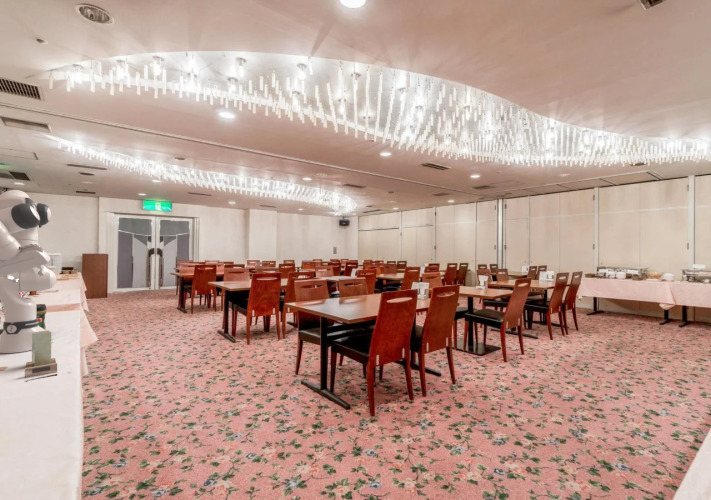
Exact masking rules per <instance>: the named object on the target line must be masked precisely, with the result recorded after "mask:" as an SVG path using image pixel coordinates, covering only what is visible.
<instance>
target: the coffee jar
mask: <svg viewBox="0 0 711 500" xmlns="http://www.w3.org/2000/svg"><path fill="white" fill-rule="evenodd" d="M36 305H37V306H36V318H42V322H39V326H40V327H41V328H43V329H44V330H46V331H47V327H46V313H47V312H48V311H47V305H46V304H45V303H37V304H36Z"/></svg>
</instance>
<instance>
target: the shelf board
mask: <svg viewBox="0 0 711 500" xmlns="http://www.w3.org/2000/svg"><path fill="white" fill-rule="evenodd" d="M25 363H26V364H25V368H24V379H26V380H25V382H28V381H34V380H39V379H44V378H52V377H54V376H55V377H56V376H58V362H56V357H54V358H52V357H51V364H46V365H41V366H36V367H34V366H33V365H32V361H28V362H25ZM49 374H50V375H49ZM44 375H46V376H44ZM38 376H40V377H38ZM33 377H34V378H33ZM35 377H36V378H35ZM28 378H31V379H28ZM27 379H28V380H27Z"/></svg>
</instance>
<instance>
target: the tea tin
mask: <svg viewBox="0 0 711 500" xmlns="http://www.w3.org/2000/svg"><path fill="white" fill-rule="evenodd" d="M51 339H52V331H50V330H48V329H46V331H40V332H33V333H32V350H31V362H32V365H33V366H34V367H36V366H41V365H46V364H51V359H52V343H51Z"/></svg>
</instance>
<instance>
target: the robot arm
mask: <svg viewBox="0 0 711 500" xmlns="http://www.w3.org/2000/svg"><path fill="white" fill-rule="evenodd" d="M51 218H52V211H51V209H50V207H49V205H48V204H45V203H40V202H38V203H37V202H34V201H33V199H31V197H30V196H29V194H27V192H25V191H23V190H20V189H9V190H6V191H4V192H2V193H1V194H0V302H1V303H2V305H3V311H4V312H3V313H4V321H3V322H2V330H3V331H2V332H1V333H0V354H13V353H22V352H29V351H32V333H33V332H40V331H47V329H46V330H44V329H43V328H41V327H40V326H39V322H42V318H36V306H37V305H36V302H35V301H33V300H32V299H29V298H25V297H23V296H21V295H20V293H21V292H23V293H24V292H40V291H45V290H50V289H52V288H54V286H56V283H57V275H56V274H55V272H54V271H53V270H52V269H50V268H48V267H46V266H45V265H48V264H49V262H50V261H51V257H50V255H49V254H48V253H47V252H46V251H45V250H44V249H43V248H42V246H41V245H40V244H39V230H38V228H40V229H41V228H42V227H43V226H46V224H48V223H49V222H50V220H51ZM54 342H55V339H52V338H51V344H52V343H54Z"/></svg>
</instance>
